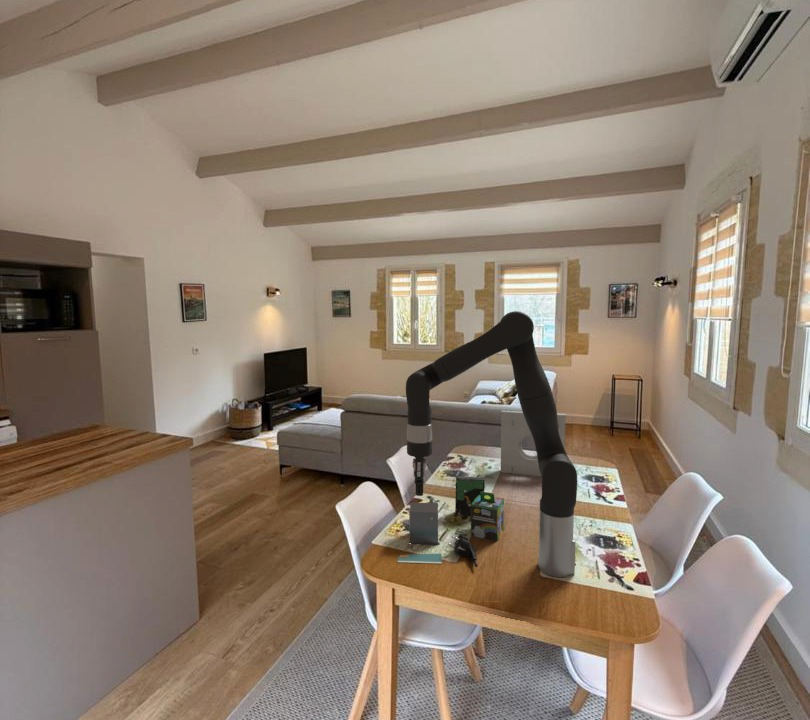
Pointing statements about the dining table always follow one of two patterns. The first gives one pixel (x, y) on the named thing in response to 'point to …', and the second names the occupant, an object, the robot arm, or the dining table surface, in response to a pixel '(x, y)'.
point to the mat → (421, 558)
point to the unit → (423, 523)
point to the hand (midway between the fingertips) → (419, 494)
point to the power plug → (464, 548)
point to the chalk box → (487, 516)
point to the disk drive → (467, 493)
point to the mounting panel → (511, 441)
